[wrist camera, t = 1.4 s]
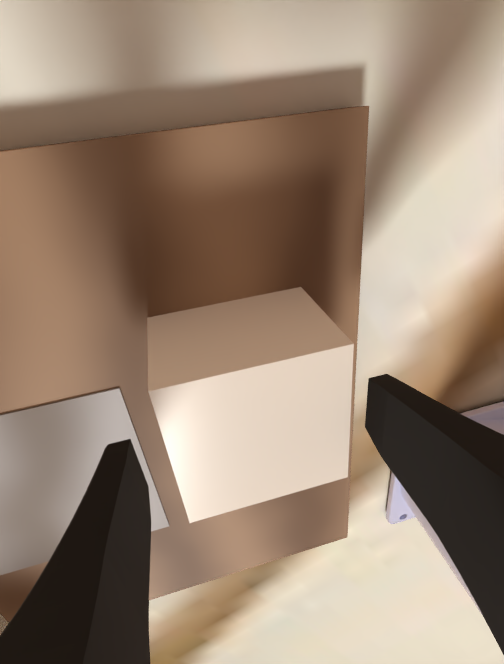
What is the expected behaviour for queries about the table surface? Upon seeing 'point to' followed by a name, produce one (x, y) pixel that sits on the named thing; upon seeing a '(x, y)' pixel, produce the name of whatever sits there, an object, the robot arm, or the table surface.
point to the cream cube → (251, 399)
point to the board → (157, 299)
